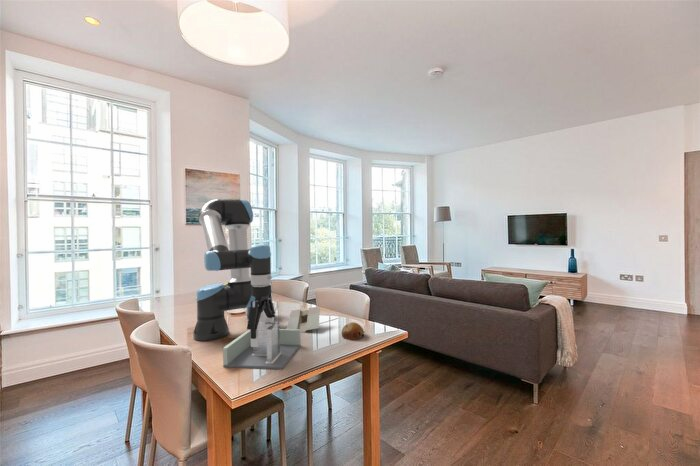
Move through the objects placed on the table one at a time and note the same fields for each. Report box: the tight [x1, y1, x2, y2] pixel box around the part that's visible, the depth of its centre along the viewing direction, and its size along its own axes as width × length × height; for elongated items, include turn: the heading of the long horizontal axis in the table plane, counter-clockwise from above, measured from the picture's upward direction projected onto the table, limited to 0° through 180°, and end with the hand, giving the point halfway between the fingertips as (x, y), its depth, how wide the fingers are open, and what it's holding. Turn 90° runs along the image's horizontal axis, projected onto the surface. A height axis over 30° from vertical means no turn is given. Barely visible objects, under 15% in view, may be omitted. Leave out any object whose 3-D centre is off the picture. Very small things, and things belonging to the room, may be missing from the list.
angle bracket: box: [253, 322, 280, 363], centre depth 115 cm, size 10×8×12 cm
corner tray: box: [222, 328, 302, 370], centre depth 119 cm, size 22×22×7 cm
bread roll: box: [341, 321, 366, 341], centre depth 138 cm, size 10×10×8 cm
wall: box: [286, 306, 321, 333], centre depth 152 cm, size 16×9×15 cm
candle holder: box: [259, 300, 275, 323], centre depth 155 cm, size 10×10×12 cm
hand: (262, 340), depth 118 cm, fingers open, 13 cm apart
